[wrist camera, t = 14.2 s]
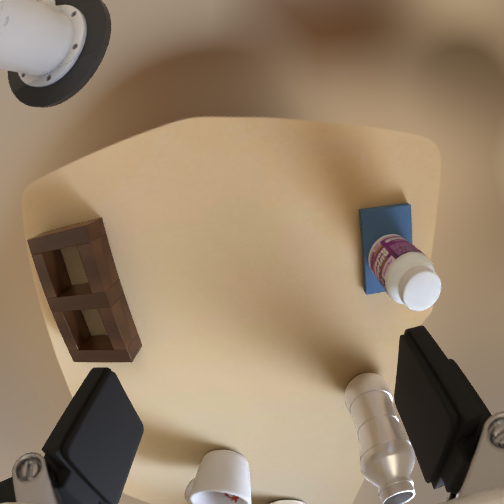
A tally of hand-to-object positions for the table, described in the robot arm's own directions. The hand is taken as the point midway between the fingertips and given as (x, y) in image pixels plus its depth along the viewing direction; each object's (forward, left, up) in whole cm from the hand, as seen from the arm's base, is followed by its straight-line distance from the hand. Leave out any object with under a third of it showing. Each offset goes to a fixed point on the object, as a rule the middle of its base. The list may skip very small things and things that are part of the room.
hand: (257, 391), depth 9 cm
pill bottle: (+7, +13, -26) cm, 30 cm away
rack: (+6, -24, -27) cm, 37 cm away
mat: (+6, +13, -27) cm, 31 cm away
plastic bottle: (+26, +10, -27) cm, 39 cm away
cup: (+42, -15, -27) cm, 52 cm away
